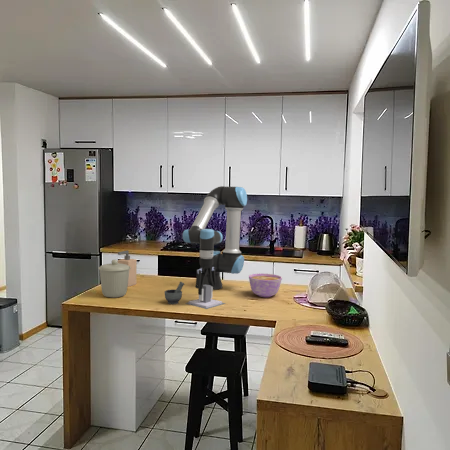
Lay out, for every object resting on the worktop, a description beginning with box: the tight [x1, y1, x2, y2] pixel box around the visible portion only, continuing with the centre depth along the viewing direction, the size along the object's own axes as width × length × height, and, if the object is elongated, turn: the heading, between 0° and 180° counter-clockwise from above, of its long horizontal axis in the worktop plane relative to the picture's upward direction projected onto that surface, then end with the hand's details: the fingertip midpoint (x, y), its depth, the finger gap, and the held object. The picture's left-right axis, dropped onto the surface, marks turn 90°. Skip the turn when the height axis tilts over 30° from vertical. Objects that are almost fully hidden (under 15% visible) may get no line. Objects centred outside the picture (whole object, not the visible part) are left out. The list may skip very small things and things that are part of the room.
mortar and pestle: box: [164, 281, 185, 305], centre depth 245 cm, size 11×9×12 cm
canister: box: [97, 259, 131, 299], centre depth 258 cm, size 18×18×21 cm
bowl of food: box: [248, 273, 283, 298], centre depth 268 cm, size 20×20×12 cm
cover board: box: [188, 284, 223, 308], centre depth 245 cm, size 13×13×10 cm
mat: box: [185, 301, 227, 310], centre depth 246 cm, size 16×16×1 cm
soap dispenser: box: [117, 250, 138, 288], centre depth 285 cm, size 13×9×22 cm
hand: (205, 299), depth 245 cm, fingers open, 7 cm apart
